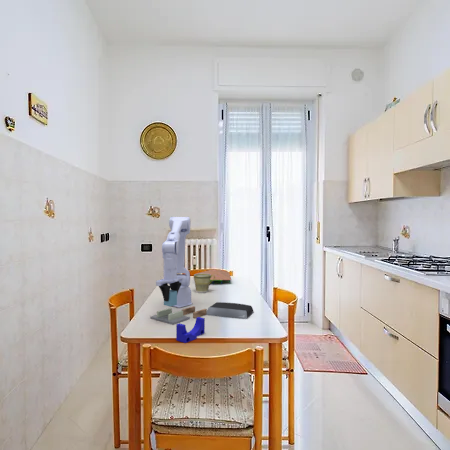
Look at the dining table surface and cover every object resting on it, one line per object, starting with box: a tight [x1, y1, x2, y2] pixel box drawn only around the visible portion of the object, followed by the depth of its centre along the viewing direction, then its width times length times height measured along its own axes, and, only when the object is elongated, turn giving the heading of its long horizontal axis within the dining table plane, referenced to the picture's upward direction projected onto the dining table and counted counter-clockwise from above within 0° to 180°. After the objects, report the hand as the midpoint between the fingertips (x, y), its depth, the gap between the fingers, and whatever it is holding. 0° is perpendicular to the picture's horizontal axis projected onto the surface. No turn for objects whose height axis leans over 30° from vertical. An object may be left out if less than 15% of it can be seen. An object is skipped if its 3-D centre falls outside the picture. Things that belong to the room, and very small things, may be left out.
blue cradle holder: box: [175, 316, 206, 344], centre depth 132 cm, size 12×4×6 cm, turn 142°
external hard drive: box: [205, 301, 255, 320], centre depth 164 cm, size 13×19×4 cm
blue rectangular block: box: [163, 289, 177, 307], centre depth 154 cm, size 4×4×6 cm
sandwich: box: [197, 268, 232, 285], centre depth 246 cm, size 23×33×8 cm
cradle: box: [181, 305, 208, 319], centre depth 161 cm, size 8×8×2 cm
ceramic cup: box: [193, 273, 215, 294], centre depth 209 cm, size 13×10×10 cm
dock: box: [149, 307, 191, 326], centre depth 154 cm, size 10×14×3 cm
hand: (170, 300), depth 154 cm, fingers closed on blue rectangular block, 4 cm apart
